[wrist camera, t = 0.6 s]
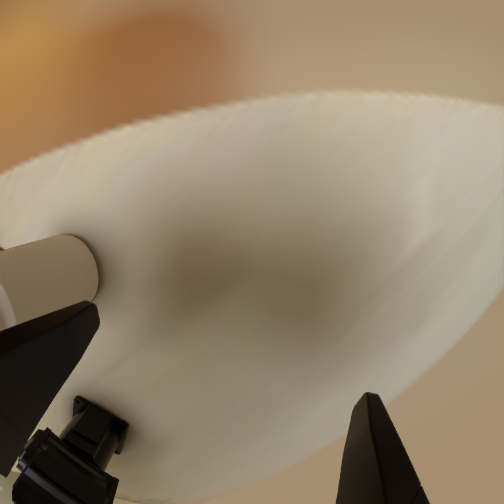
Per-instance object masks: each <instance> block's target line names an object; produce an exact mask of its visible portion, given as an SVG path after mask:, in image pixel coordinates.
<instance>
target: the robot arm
mask: <svg viewBox="0 0 504 504" xmlns="http://www.w3.org/2000/svg"><path fill="white" fill-rule="evenodd" d="M99 325H100V319H99V314H98V310H97V306H96V304H94V303H92V302H90V301H88V300H84V301H81V302H78V303H76V304H73V305H70V306H67V307H64V308H62V309H59V310H56V311H53V312H51V313H48V314H45V315H42V316H40V317H37V318H34V319H31V320H29V321H26V322H23V323H20V324H18V325H15V326H12V327H9V328H7V329H4V330H2V331H0V474H1V475H3V476H4V477H7V476H8V475H9V473H10V471H11V469H12V467H13V465H14V464H15V462H16V460H17V458H18V457H19V460H18V462H19V463H18V465H17V467H16V468H18V469H19V470H20V471H21V472H22V473H21V474H20V476H19V477H18V479H17V480H16V482H15V483H14V485H13V491H12V501H13V502H14V504H113V500H114V497H115V493H116V490H117V486H118V483H119V479H117V478H115V477H112V476H111V475H109V474H108V473H106V472H105V469H106V467H107V465H108V463H109V461H110V459H111V458H112V456H113V454H114V453H115V454H118V455H119V454H120V453H121V451H122V448H123V444H124V441H125V437H126V434H127V431H128V427H129V425H128V424H127V423H126V422H124V421H122V420H120V419H118V418H116V417H114V416H112V415H111V414H109V413H107V412H105V411H103V410H101V409H100V408H98V407H96V406H94V405H93V404H91V403H89V402H88V401H86V400H84V399H83V398H81V397H79V396H76V397H75V399H74V406H73V418H72V420H71V421H70V422H69V424H68V425H67V426H66V427H65V429H64V430H63V431H62V433H61V434H60V435H59V437H57V436H56V435H55V434H54V433H53V432H52V431H51V430H50V429H49V428H48V427H47V428H46V429H45V431H44V430H40V429H38V430H37V432H36V433H35V434H34V435H33V436H32V437H31V439H29V437H30V436H31V434H32V433H33V431H34V429H35V428H36V426H37V424H38V423H39V421H40V420H41V418H42V416H43V415H44V413H45V412H46V410H47V409H48V407H49V405H50V404H51V402H52V401H53V399H54V398H55V396H56V395H57V393H58V392H59V390H60V389H61V387H62V386H63V384H64V383H65V381H66V380H67V378H68V377H69V375H70V374H71V373H72V371H73V370H74V368H75V367H76V365H77V364H78V362H79V361H80V359H81V358H82V356H83V354H84V352H85V351H86V349H87V347H88V345H89V344H90V342H91V340H92V338H93V337H94V335H95V333H96V331H97V330H98V328H99ZM28 439H29V440H28ZM27 440H28V441H27ZM420 485H421V483H420V481H419V478H418V476H417V474H416V472H415V470H414V468H413V465H412V463H411V461H410V459H409V456H408V454H407V452H406V450H405V448H404V446H403V444H402V442H401V439H400V437H399V435H398V433H397V431H396V429H395V427H394V425H393V423H392V421H391V419H390V417H389V415H388V413H387V410H386V408H385V406H384V404H383V402H382V400H381V398H380V397H379V395H378V394H376V393H370V392H366V393H364V394H363V396H362V397H361V398H360V400H359V401H358V402H357V404H356V405H355V406H354V408H353V411H352V416H351V421H350V425H349V430H348V435H347V439H346V443H345V447H344V452H343V458H342V465H341V473H340V480H339V487H338V494H337V499H336V504H430V503H429V501H428V499H427V496H426V494H425V492H424V490H423V487H422V486H420Z"/></svg>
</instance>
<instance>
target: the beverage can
mask: <svg viewBox="0 0 504 504" xmlns="http://www.w3.org/2000/svg"><path fill="white" fill-rule="evenodd" d="M97 288H98V270H97V265H96V262H95V260H94V257H93V255H92V253H91V252H90V250H89V249H88V247H87V246H86V245H85V244H84V243H83V242H82V241H81V240H79V239H78V238H76V237H74V236H71V235H65V234H64V235H57V236H54V237H50V238H46V239H42V240H38V241H35V242H31V243H27V244H24V245H20V246H16V247H13V248H9V249H6V250H3V251H0V331H2V330H4V329H7V328H9V327H12V326H15V325H18V324H20V323H23V322H26V321H29V320H31V319H34V318H37V317H40V316H42V315H45V314H48V313H51V312H53V311H56V310H59V309H62V308H64V307H67V306H70V305H73V304H76V303H78V302H81V301H84V300H88V301H90V302H91V301H92V300H93V298H94V296H95V294H96V292H97Z"/></svg>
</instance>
